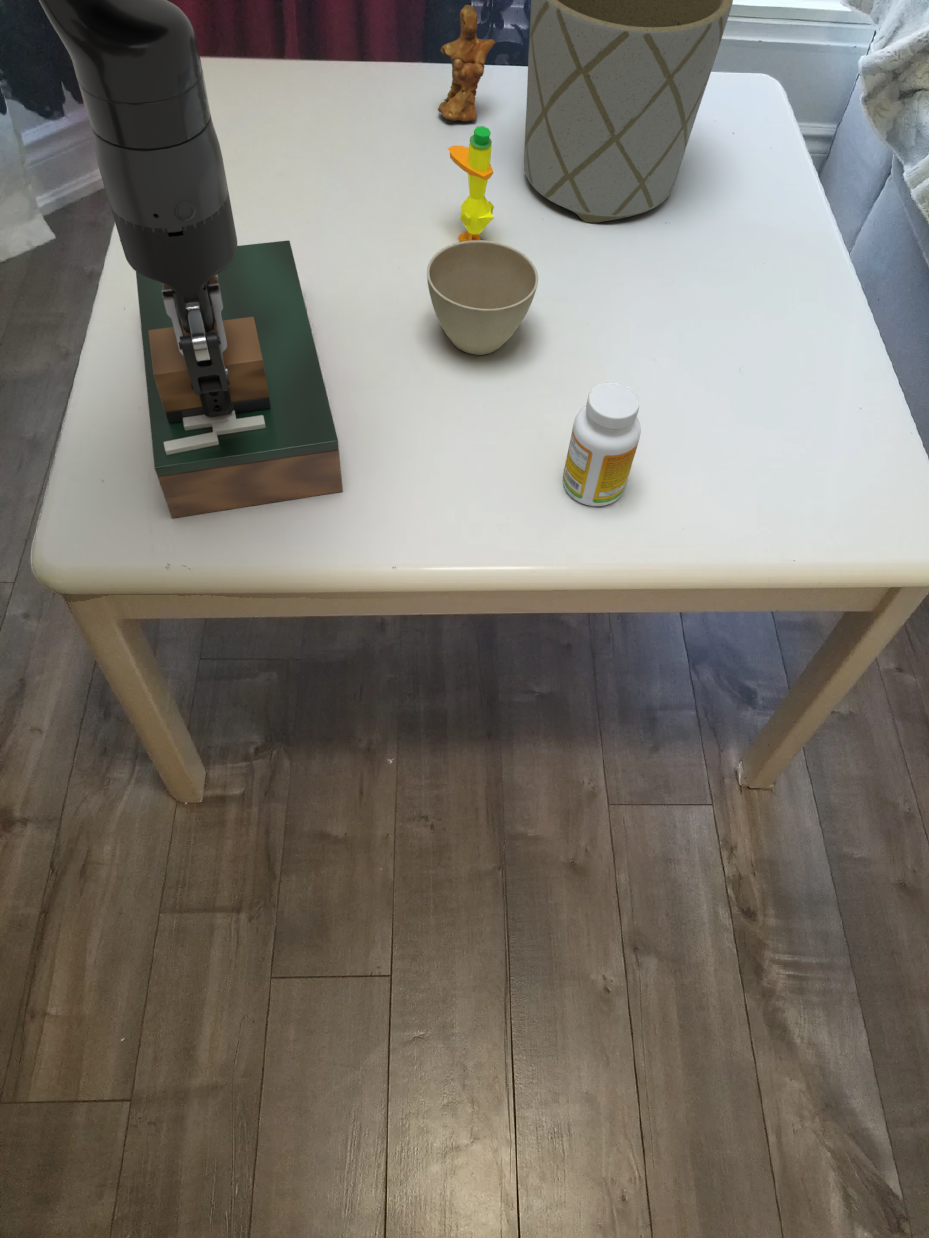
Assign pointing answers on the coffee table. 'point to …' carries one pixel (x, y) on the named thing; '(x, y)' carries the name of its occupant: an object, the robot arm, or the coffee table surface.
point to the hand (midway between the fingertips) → (214, 387)
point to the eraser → (238, 359)
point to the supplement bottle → (602, 445)
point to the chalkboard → (295, 424)
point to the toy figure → (475, 182)
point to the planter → (615, 98)
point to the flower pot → (480, 293)
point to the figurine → (465, 68)
